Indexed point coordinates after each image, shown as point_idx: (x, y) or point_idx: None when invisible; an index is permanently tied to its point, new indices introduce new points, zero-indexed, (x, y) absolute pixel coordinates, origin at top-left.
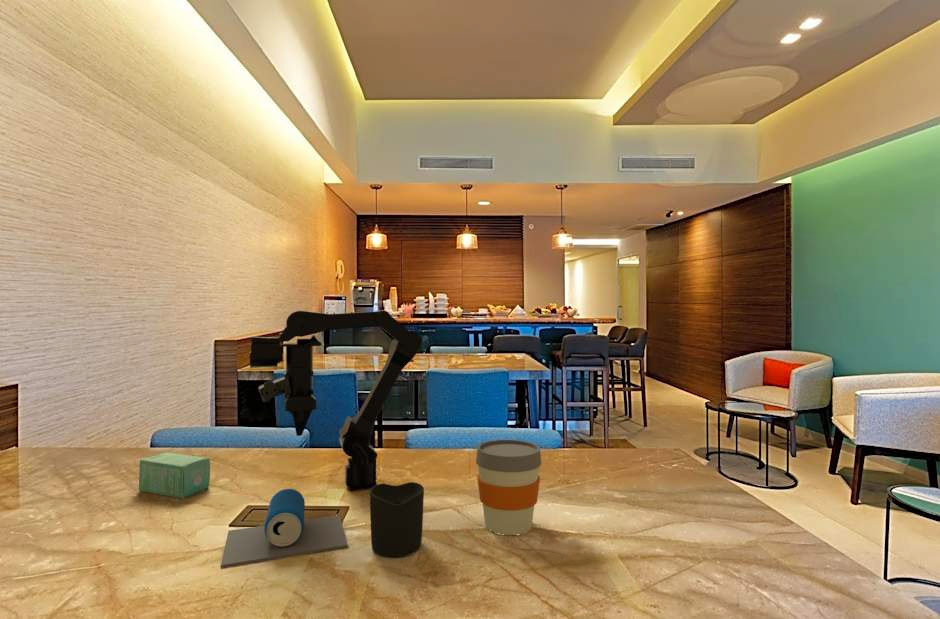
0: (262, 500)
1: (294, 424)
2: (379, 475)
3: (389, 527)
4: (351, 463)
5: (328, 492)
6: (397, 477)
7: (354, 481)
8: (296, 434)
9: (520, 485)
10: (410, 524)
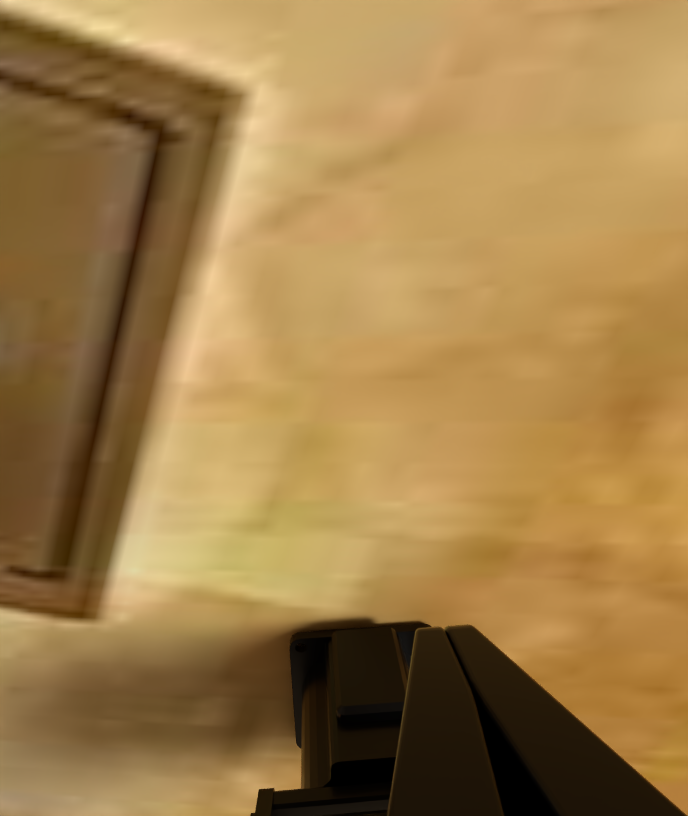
0: (301, 183)
1: (394, 799)
2: None
3: None
4: (329, 764)
5: (316, 539)
6: None
7: (317, 682)
8: (415, 636)
9: None
10: None
